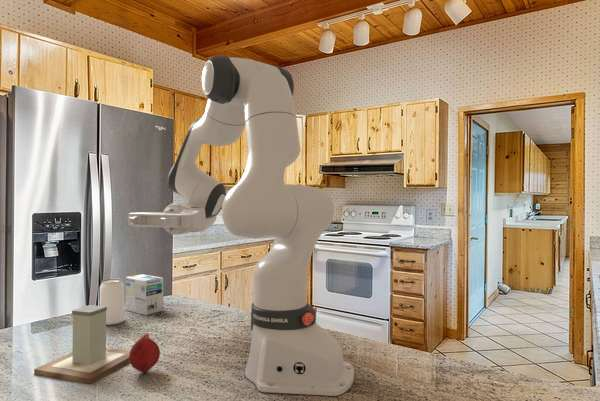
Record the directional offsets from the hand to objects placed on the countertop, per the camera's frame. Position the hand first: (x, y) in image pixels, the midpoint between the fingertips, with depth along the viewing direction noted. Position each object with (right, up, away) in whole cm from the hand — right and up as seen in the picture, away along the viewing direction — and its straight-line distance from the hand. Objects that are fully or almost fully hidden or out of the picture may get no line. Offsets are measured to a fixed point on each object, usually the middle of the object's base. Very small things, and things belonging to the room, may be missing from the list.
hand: (146, 221), depth 101 cm
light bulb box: (-11, -30, +27) cm, 42 cm away
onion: (+6, -30, -18) cm, 36 cm away
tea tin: (-7, -29, -15) cm, 33 cm away
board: (-7, -30, -15) cm, 34 cm away
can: (-16, -30, +15) cm, 37 cm away
